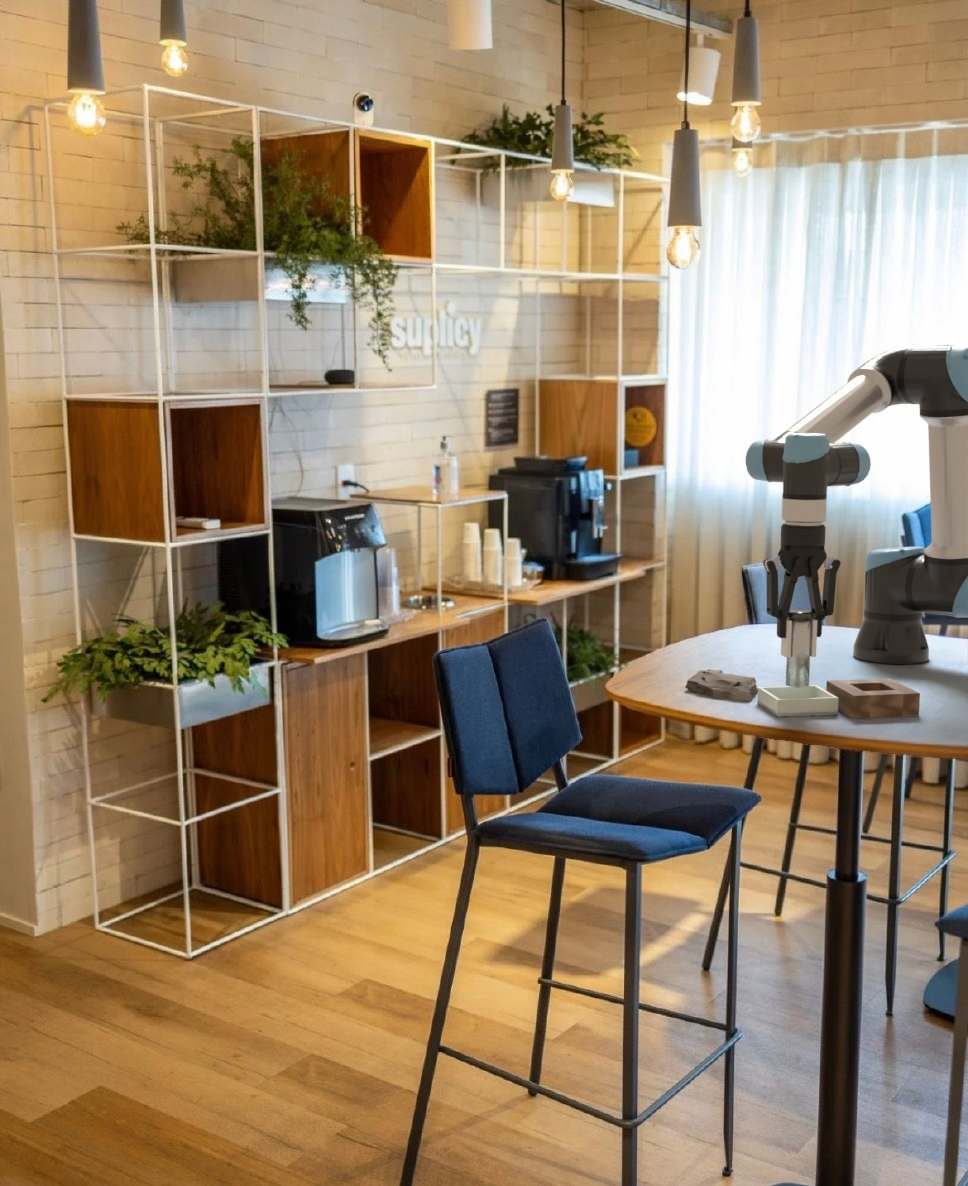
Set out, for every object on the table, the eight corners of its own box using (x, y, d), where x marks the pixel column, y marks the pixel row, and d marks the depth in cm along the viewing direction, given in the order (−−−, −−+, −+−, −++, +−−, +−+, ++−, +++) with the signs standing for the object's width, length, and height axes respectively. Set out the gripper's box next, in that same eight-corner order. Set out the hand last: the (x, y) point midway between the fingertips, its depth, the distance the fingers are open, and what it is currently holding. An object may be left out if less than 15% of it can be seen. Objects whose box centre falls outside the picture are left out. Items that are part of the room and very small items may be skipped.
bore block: (888, 699, 250) (889, 678, 249) (918, 715, 238) (920, 693, 237) (825, 702, 248) (826, 680, 247) (853, 718, 236) (854, 695, 235)
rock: (679, 695, 255) (679, 674, 254) (699, 685, 263) (699, 665, 262) (748, 704, 248) (749, 683, 247) (767, 694, 255) (767, 674, 255)
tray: (815, 701, 249) (816, 685, 248) (837, 714, 239) (838, 697, 238) (757, 703, 247) (757, 687, 247) (777, 717, 237) (777, 700, 237)
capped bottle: (804, 681, 245) (807, 609, 243) (814, 687, 240) (816, 614, 238) (780, 682, 244) (783, 610, 242) (789, 688, 240) (792, 614, 238)
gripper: (841, 520, 243) (835, 650, 246) (748, 521, 240) (744, 652, 244) (859, 524, 235) (853, 658, 239) (763, 525, 233) (759, 661, 236)
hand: (798, 655), depth 241 cm, fingers closed on capped bottle, 4 cm apart
